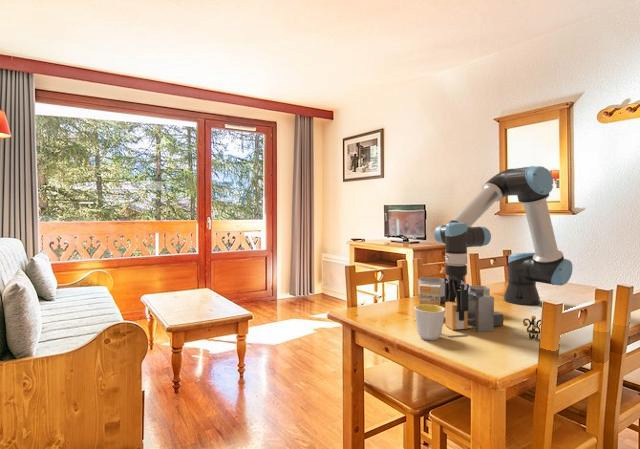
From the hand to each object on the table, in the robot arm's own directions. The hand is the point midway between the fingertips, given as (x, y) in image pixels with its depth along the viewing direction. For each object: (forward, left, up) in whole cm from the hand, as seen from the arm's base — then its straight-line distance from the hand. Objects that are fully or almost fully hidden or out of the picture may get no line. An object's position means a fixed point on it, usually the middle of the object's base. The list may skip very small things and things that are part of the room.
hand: (455, 326), depth 142 cm
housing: (-8, 0, -1) cm, 8 cm away
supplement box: (+3, -16, -1) cm, 16 cm away
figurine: (-19, +16, -1) cm, 25 cm away
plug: (-8, 0, 0) cm, 8 cm away
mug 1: (+13, +7, -1) cm, 15 cm away
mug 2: (-21, -18, -1) cm, 28 cm away
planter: (-10, -40, -1) cm, 41 cm away
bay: (+4, 0, -1) cm, 4 cm away
